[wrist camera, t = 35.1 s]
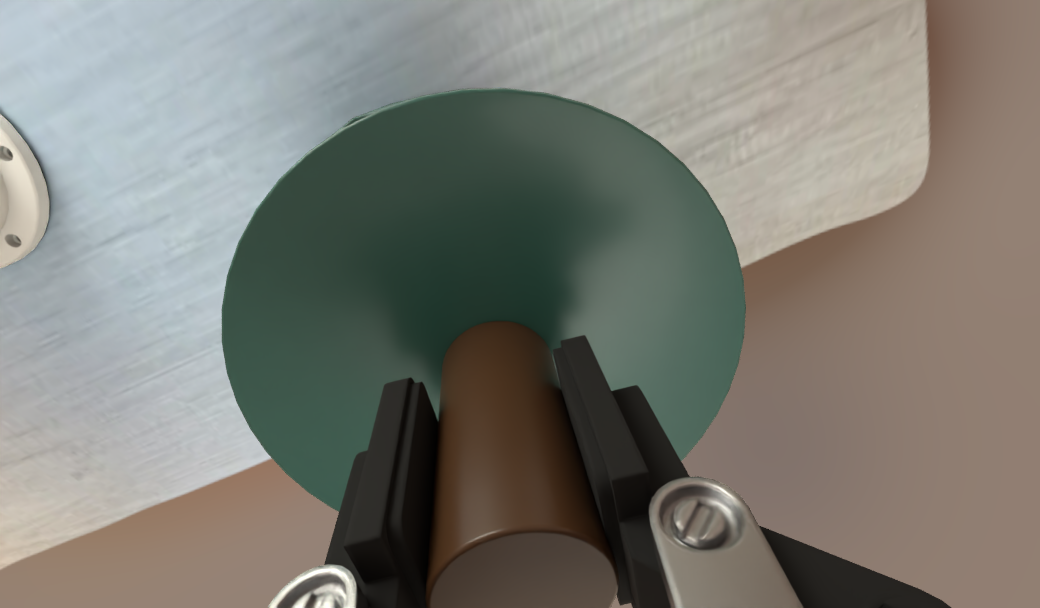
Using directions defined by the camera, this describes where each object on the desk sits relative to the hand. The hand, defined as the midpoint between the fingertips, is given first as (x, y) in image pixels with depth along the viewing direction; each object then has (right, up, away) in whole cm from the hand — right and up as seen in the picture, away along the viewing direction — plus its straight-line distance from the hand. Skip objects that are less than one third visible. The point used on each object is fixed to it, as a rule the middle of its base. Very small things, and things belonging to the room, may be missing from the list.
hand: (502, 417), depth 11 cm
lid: (0, +1, +2) cm, 3 cm away
